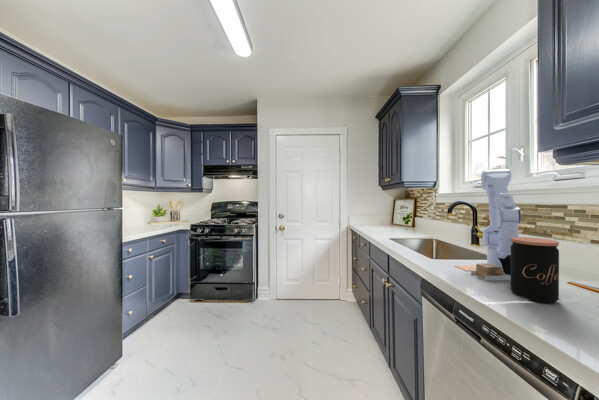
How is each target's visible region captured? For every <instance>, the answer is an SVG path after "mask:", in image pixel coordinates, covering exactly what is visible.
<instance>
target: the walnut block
mask: <svg viewBox="0 0 599 400" xmlns="http://www.w3.org/2000/svg"><path fill="white" fill-rule="evenodd" d="M475 267H476V275H478V276H480V277H483V278H485V276H503V274H502V270H503V269H502V267H501V266H498V265H494V264H491V263H487V262H486V263H476V264H475Z"/></svg>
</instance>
